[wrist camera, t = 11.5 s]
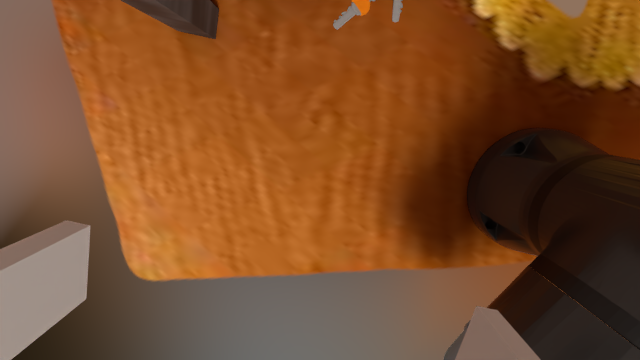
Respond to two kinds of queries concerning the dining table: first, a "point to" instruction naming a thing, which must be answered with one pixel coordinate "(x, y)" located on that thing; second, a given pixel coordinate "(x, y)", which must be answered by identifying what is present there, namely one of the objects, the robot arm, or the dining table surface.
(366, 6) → the key chain
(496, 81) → the dining table surface
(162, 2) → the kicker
